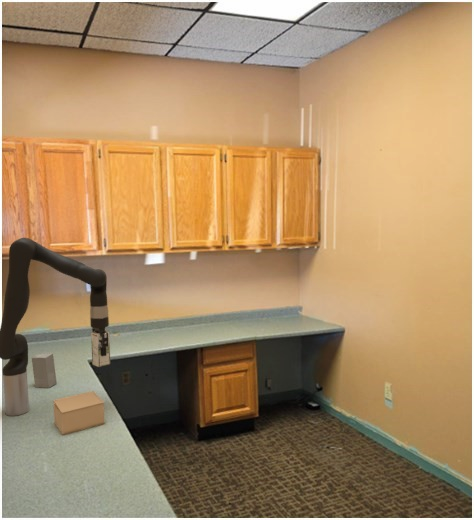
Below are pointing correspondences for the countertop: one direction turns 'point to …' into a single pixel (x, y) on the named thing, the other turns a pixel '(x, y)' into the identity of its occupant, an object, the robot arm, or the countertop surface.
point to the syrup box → (99, 350)
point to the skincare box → (44, 370)
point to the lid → (77, 402)
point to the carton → (79, 419)
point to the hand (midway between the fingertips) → (101, 353)
